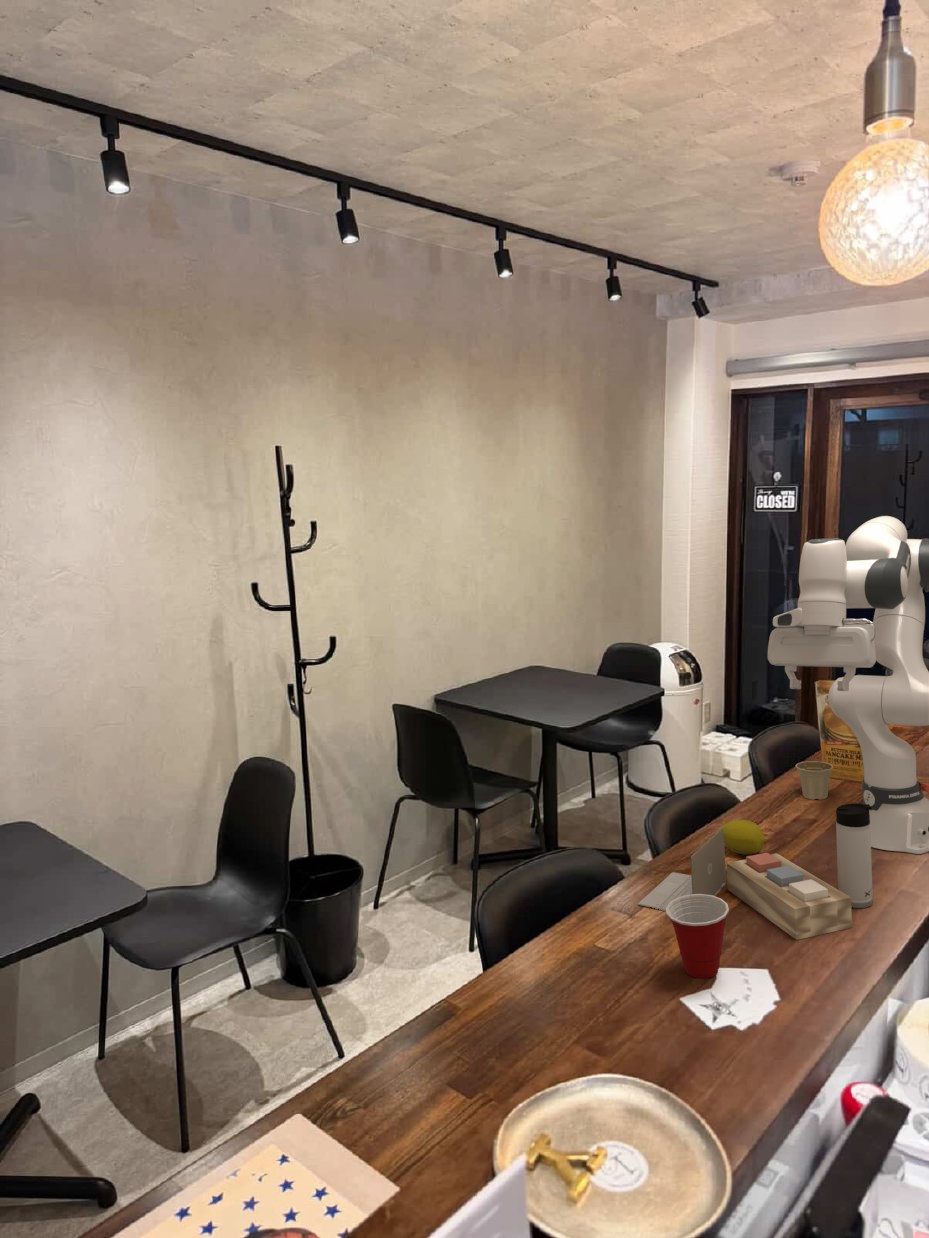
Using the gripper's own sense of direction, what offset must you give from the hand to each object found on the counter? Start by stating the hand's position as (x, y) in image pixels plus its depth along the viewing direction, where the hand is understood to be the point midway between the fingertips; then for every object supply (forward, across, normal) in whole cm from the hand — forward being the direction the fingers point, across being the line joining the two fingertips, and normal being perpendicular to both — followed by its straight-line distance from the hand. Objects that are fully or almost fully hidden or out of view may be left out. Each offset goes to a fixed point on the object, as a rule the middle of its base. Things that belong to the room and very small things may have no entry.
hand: (818, 689), depth 171 cm
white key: (+41, +1, -2) cm, 41 cm away
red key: (+38, +15, -9) cm, 42 cm away
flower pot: (+26, +33, -71) cm, 82 cm away
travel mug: (+42, -2, -17) cm, 45 cm away
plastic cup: (+52, +9, +23) cm, 58 cm away
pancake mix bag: (+21, +32, -90) cm, 98 cm away
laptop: (+45, +28, 0) cm, 53 cm away
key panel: (+44, +8, -7) cm, 45 cm away
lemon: (+38, +29, -26) cm, 54 cm away
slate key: (+39, +8, -6) cm, 41 cm away
